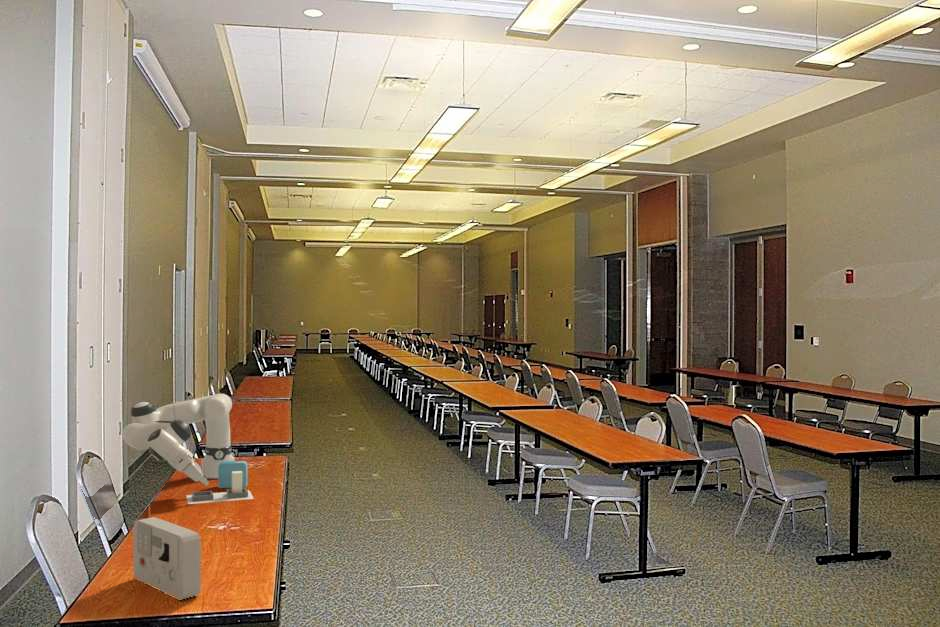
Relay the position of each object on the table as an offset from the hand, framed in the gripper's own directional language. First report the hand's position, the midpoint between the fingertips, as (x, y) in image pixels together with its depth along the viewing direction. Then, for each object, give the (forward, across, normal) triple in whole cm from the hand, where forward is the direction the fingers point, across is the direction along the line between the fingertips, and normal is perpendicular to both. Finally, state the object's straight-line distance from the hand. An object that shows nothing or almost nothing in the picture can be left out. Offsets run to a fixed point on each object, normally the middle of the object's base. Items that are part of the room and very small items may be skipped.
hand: (207, 481), depth 324 cm
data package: (+14, -18, +3) cm, 23 cm away
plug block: (+13, 0, +4) cm, 14 cm away
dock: (+9, 0, -2) cm, 9 cm away
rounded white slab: (-7, +102, -18) cm, 104 cm away
